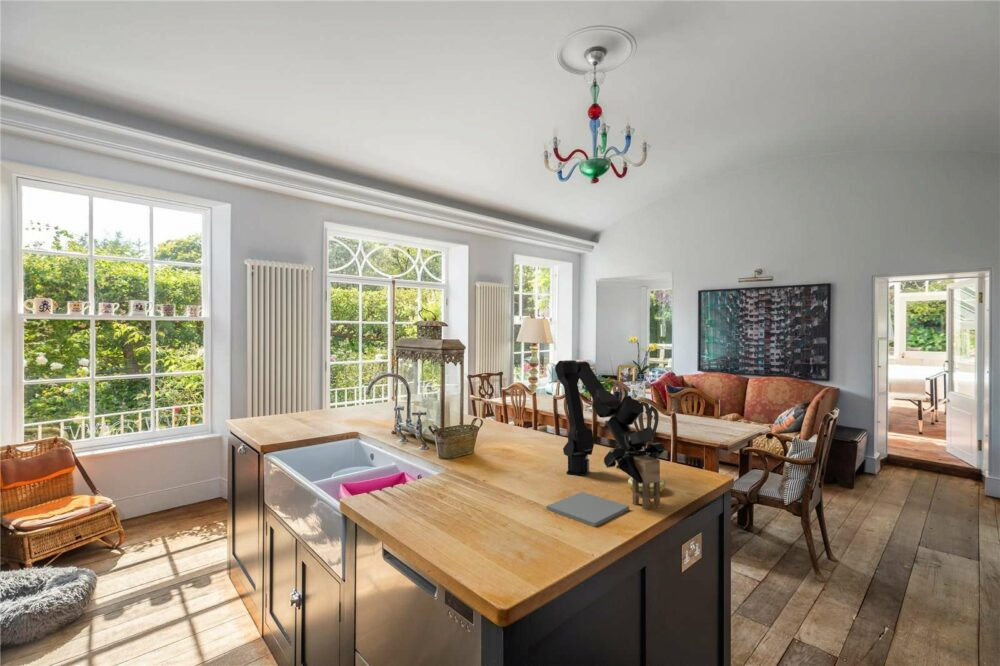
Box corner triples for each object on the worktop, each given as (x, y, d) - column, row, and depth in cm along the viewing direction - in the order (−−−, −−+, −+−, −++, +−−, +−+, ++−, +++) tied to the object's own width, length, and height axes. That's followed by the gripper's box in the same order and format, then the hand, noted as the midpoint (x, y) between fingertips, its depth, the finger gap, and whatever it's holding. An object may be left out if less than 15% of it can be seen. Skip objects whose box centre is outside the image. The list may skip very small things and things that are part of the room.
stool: (632, 503, 131) (632, 457, 131) (646, 500, 133) (646, 455, 133) (645, 509, 126) (645, 462, 126) (660, 506, 129) (659, 460, 129)
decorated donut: (648, 483, 149) (648, 471, 149) (672, 493, 139) (671, 481, 139) (621, 487, 146) (621, 475, 146) (643, 498, 136) (643, 485, 136)
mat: (546, 509, 127) (546, 505, 127) (582, 494, 138) (581, 491, 138) (594, 527, 116) (594, 523, 116) (629, 509, 127) (629, 506, 127)
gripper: (609, 421, 129) (637, 471, 119) (660, 415, 137) (690, 461, 127) (593, 443, 137) (617, 492, 127) (642, 436, 144) (669, 482, 135)
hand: (649, 481), depth 129 cm, fingers closed on stool, 5 cm apart
